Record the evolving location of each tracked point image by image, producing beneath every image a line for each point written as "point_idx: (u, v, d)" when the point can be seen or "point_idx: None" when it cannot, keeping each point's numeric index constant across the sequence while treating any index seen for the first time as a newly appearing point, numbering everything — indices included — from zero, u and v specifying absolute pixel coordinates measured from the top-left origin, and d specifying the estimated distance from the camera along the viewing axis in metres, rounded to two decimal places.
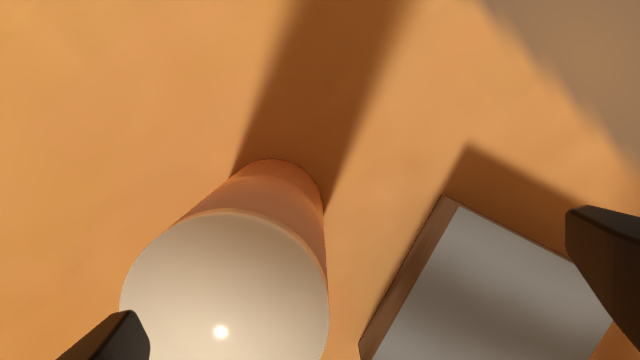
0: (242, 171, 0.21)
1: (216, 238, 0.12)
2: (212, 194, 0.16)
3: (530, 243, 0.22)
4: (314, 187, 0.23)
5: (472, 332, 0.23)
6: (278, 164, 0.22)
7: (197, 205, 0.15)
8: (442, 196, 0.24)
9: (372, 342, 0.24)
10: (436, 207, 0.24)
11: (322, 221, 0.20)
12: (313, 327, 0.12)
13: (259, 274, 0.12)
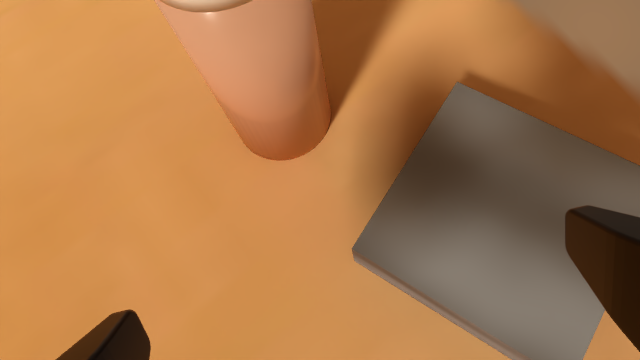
0: None
1: None
2: None
3: (535, 118, 0.21)
4: None
5: (479, 208, 0.20)
6: None
7: None
8: None
9: None
10: None
11: None
12: None
13: None
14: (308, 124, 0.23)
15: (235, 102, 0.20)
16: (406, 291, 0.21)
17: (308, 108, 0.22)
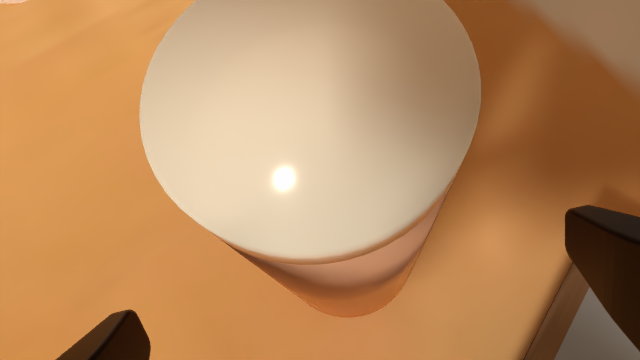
0: None
1: None
2: None
3: None
4: None
5: None
6: None
7: None
8: None
9: None
10: (572, 268, 0.18)
11: None
12: (452, 104, 0.07)
13: (368, 23, 0.08)
14: (395, 291, 0.16)
15: (303, 296, 0.13)
16: None
17: (402, 280, 0.15)
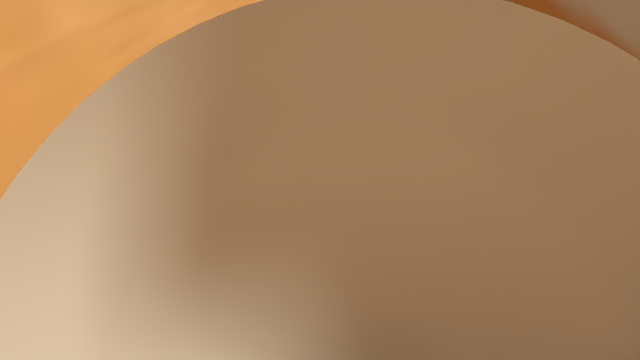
0: None
1: (366, 42, 0.03)
2: None
3: None
4: None
5: None
6: None
7: None
8: None
9: None
10: None
11: None
12: None
13: (518, 173, 0.03)
14: None
15: None
16: None
17: None
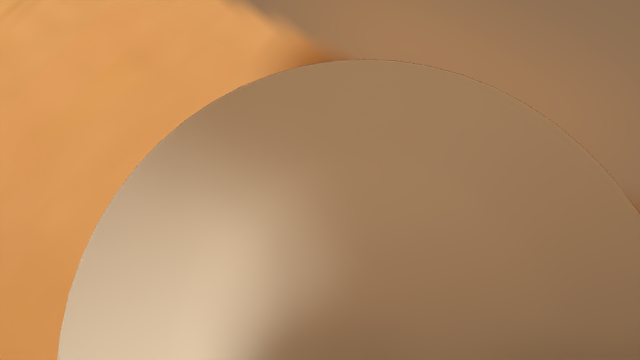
0: None
1: (359, 102, 0.05)
2: None
3: None
4: None
5: None
6: None
7: None
8: None
9: None
10: None
11: None
12: None
13: (460, 195, 0.04)
14: None
15: None
16: None
17: None
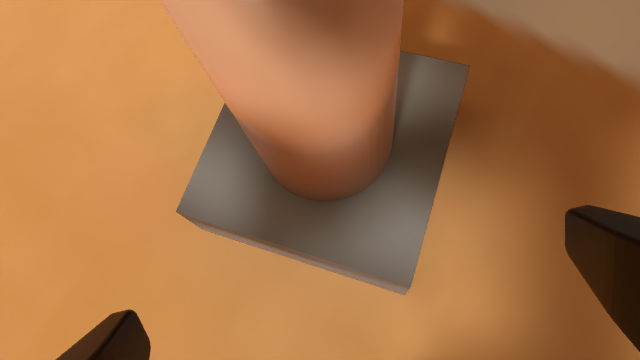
0: None
1: None
2: None
3: None
4: None
5: None
6: None
7: None
8: None
9: None
10: None
11: None
12: None
13: None
14: (370, 158, 0.16)
15: (267, 131, 0.12)
16: (254, 244, 0.20)
17: (374, 138, 0.14)
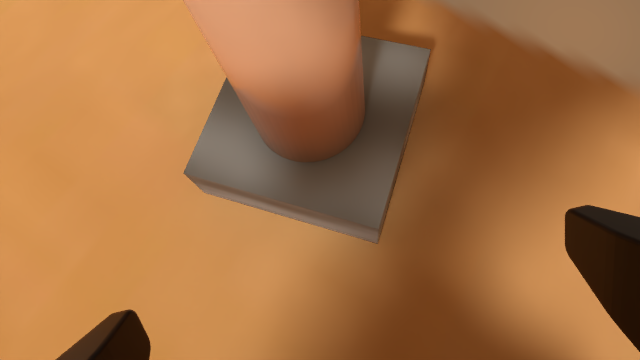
0: None
1: None
2: None
3: None
4: None
5: None
6: None
7: None
8: None
9: None
10: None
11: None
12: None
13: None
14: (341, 121, 0.19)
15: (256, 92, 0.16)
16: (250, 203, 0.24)
17: (343, 102, 0.18)
